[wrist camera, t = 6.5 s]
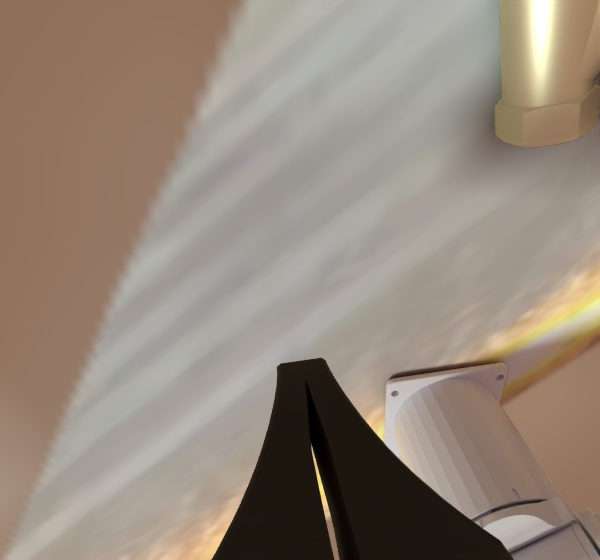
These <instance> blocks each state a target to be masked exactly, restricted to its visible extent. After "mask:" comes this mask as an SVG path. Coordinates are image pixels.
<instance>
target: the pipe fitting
mask: <svg viewBox="0 0 600 560" xmlns="http://www.w3.org/2000/svg"><path fill="white" fill-rule="evenodd" d="M499 7H500V43H501V79H502V98H501V99H500V100H499V101H498V102H497V104H496V105H495V106H494V107H495V133H496V136H497V137H498V138H500V139H501V140H502V141H504V142H506V143H508V144H511V145H515V146H521V147H542V146H550V145H556V144H561V143H565V142H568V141H571V140H574V139H577V138H579V137H581V136H583V135H585V134H586V133H587V132H589V130H590V129H591V128H592V127H593V126H594V125H595V123H596V122H597V120H598V119H599V109H600V85H598V84H596V83H594V78H595V77H596V75H597V74H598V73H599V71H600V0H499Z"/></svg>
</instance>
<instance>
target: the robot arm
mask: <svg viewBox="0 0 600 560" xmlns="http://www.w3.org/2000/svg"><path fill="white" fill-rule="evenodd" d="M507 374H508V367H507V366H506V364H505V363H494V364H487V365H480V366H474V367H467V368H460V369H454V370H447V371H440V372H433V373H427V374H420V375H413V376H407V377H400V378H393V379H391V380H389V381H388V382H387V384H386V399H385V419H384V440H383V441H382V440H381V439H380V438H379V437H378V436H377V434H376V433H375V432H374V431H373V430H372V429H371V427H370V426H369V425H368V424H367V423H366V421H365V420H364V419H363V418H362V416H361V415H360V414H359V412H358V411H357V410H356V408H355V407H354V406H353V404H352V403H351V402H350V400H349V399H348V397H347V396H346V395H345V393H344V392H343V390H342V389H341V387H340V386H339V384H338V382H337V381H336V379H335V378H334V376H333V374H332V372H331V371H330V369H329V367H328V365H327V363H326V360H324V359H323V358H317V359H310V360H303V361H296V362H289V363H282V364H280V365H279V366H278V367H277V386H276V393H275V400H274V405H273V409H272V414H271V418H270V423H269V426H268V430H267V433H266V437H265V440H264V443H263V447H262V450H261V453H260V456H259V459H258V462H257V464H256V467H255V470H254V472H253V475H252V478H251V480H250V483H249V485H248V487H247V490H246V492H245V494H244V497H243V499H242V501H241V504H240V506H239V508H238V510H237V512H236V514H235V516H234V518H233V520H232V522H231V524H230V526H229V528H228V530H227V532H226V534H225V536H224V538H223V540H222V541H221V543H220V545H219V547H218V549H217V551H216V553H215V554H214V556H213V558H212V560H334V556H333V552H332V548H331V543H330V538H329V533H328V529H327V524H326V519H325V515H324V510H323V505H322V500H321V495H320V491H319V486H318V481H317V476H316V471H315V466H314V461H313V456H312V449H311V444H312V448H313V451H314V455H315V459H316V463H317V466H318V470H319V474H320V477H321V481H322V485H323V488H324V492H325V496H326V499H327V503H328V507H329V510H330V514H331V518H332V523H333V527H334V532H335V537H336V542H337V548H338V553H339V559H340V560H600V514H599V513H593V511H591V510H590V509H584V510H583V511H581V512H579V513H578V515H579V517H580V518H581V520H582V521H581V520H580V519H579V518H578V517H577V515H576V514H575V513H574V512H573V511H572V509H571V508H570V507H569V505H568V504H567V503H566V502H565V501H564V499H563V498H562V497H561V495H560V493H559V492H558V490H557V489H556V488H555V486H554V485H553V483H552V482H551V480H550V479H549V477H548V476H547V474H546V473H545V471H544V470H543V468H542V467H541V465H540V464H539V462H538V461H537V459H536V458H535V456H534V455H533V453H532V452H531V450H530V449H529V447H528V446H527V445H526V443H525V441H524V440H523V438H522V437H521V435H520V434H519V432H518V431H517V429H516V428H515V426H514V425H513V423H512V422H511V420H510V419H509V417H508V416H507V414H506V413H505V411H504V410H503V408H502V407H501V405H500V402H501V398H502V394H503V390H504V386H505V382H506V378H507ZM393 391H394V392H393ZM582 522H583V523H582Z"/></svg>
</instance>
